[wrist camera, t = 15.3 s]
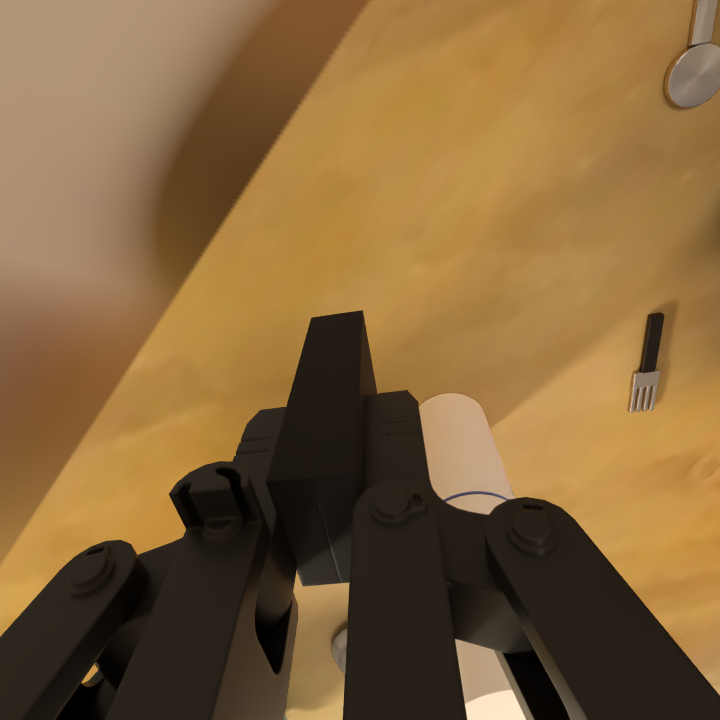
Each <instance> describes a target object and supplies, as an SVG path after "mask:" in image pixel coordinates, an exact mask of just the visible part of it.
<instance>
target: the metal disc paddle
mask: <svg viewBox="0 0 720 720" xmlns="http://www.w3.org/2000/svg"><path fill="white" fill-rule="evenodd" d="M717 3H718V0H695V3H694V10H693V16H692V23H691V29H690V36H689V43H688V46H691V47H689V48H687V49H686V50H684V51H683V52H682V53H680V54H679V55H678V56H677V57H676V58H675V60H674V61H673V62H672V64H671V65H670V67H669V69H668V71H667V73H666V77H665V81H664V91H665V95H666V97H667V99H668V100H669V102H670V103H671V104H673V105H674V106H677V107H682V108H690V107H695V106H698V105H701V104H703V103H704V102H706V101H707V100H709V99H710V98H711V97H712V96H713V95H714V94H715V93H716V92H717V91H718V89H719V88H720V47H719V46H717V45H715V44H711V43H708V42H711V38H712V32H713V27H714V21H715V15H716V9H717ZM692 45H694V46H692Z"/></svg>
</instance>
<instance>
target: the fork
mask: <svg viewBox="0 0 720 720" xmlns="http://www.w3.org/2000/svg"><path fill="white" fill-rule="evenodd" d="M663 321H664V314H662V313H658V314H650V315H648V320H647V327H646V333H645V340H644V346H643V353H642V360H641V366H640V371H636V372H633V378H632V385H631V386H632V388H631V395H630V402H629V409H628V411H629V412H630V413H633V411H634V405H635V398H636V391H637V388H638V393H637V399H636V406H635V411H636V412H640V408H641V402H642V396H643V390H644V387H645V390H644V397H643V403H642V410H643V411H647V406H648V400H649V394H650V388H651V386H652V388H651V394H650V400H649V406H648V409H649V410H650V411H653V409H654V404H655V398H656V392H657V387H658V384H659V378H660V372H661V370H659V369H655V368H656V363H657V357H658V351H659V345H660V339H661V333H662V327H663Z"/></svg>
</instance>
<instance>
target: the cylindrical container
mask: <svg viewBox="0 0 720 720" xmlns="http://www.w3.org/2000/svg"><path fill="white" fill-rule="evenodd" d="M419 411H420V418H421V424H422V431H423V437H424V444H425V450H426V457H427V463H428V470H429V476H430V481H431V484H432V487H433V489H434V491H435V492H436V493H437V495H438V496H439V497H440V498H441V499H443V500H444V501H445V502H446V503H448V504H450V505H452V506H454V507H456V508H458V509H462V510H466V511H470V512H475V513H481V514H487V515H489V514H490V513H491V511H492V510H493V509H494V508H495V506H497V505H499V504H501V503H503V502H505V501H507V500H509V499H515V497H514V494H513V492H512V489H511V486H510V483H509V480H508V478H507V475H506V472H505V469H504V467H503V464H502V461H501V458H500V456H499V453H498V450H497V447H496V444H495V442H494V439H493V436H492V433H491V431H490V428H489V425H488V422H487V419H486V417H485V414H484V412H483V409H482V407H481V406H480V405H479V404H478V403H477V402H476V401H475V400H474V399H472V398H470V397H468V396H466V395H463V394H457V393H445V394H440V395H436V396H434V397H431V398H430V399H428V400H426V401H425V402H424V403H422V404H421V405H420V406H419ZM455 642H456V649H457V655H458V662H459V668H460V675H461V682H462V688H463V695H464V701H465V708H466V714H467V720H526V718H525V716H524V714H523V712H522V710H521V708H520V705H519V703H518V701H517V699H516V697H515V695H514V693H513V690H512V688H511V686H510V684H509V682H508V680H507V678H506V675H505V673H504V671H503V669H502V667H501V665H500V663H499V660H498V658H497V656H496V654H495V652H494V650H493V649H489V648H486V647H482V646H478V645H475V644H471V643H468V642H464V641H461V640H457V639H455Z"/></svg>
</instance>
